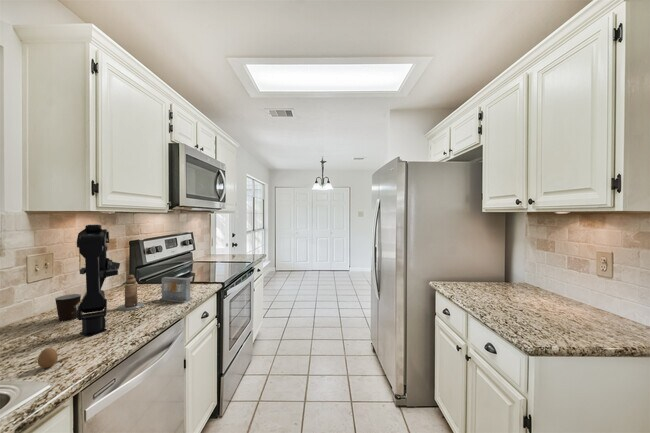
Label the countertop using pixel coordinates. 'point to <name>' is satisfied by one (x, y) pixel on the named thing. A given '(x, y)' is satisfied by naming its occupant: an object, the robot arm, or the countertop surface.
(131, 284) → the pepper mill
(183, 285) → the switch panel
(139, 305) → the coaster
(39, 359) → the egg
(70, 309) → the coffee mug
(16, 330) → the countertop surface
